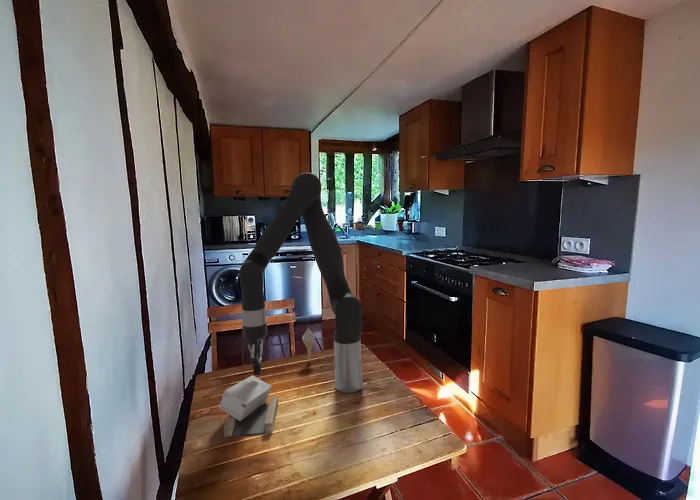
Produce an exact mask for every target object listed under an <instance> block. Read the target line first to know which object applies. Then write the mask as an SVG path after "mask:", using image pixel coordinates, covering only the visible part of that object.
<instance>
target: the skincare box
mask: <svg viewBox="0 0 700 500" xmlns="http://www.w3.org/2000/svg"><path fill="white" fill-rule="evenodd" d="M272 388H273V387H272V386H271V385H270V384H269V383H267V382H265V381H263V380H261V378H258V377H257V376H256V375H254V374H252V375H251V376H249V377H247V378H244V379H243V380H242V381H240V382H238V383H236V384H234V385H232V386H231V387H229V388H227V389H225V390H224V392H223V395H222V398H221V401H220V403H219V406H218V409H220V410H221V411H224V413H226V414H228V416H229V415H231V416H232V417H234V418H236V419H237V420H239V421H241V420H243V419H244V418H245V417H247V416H248V415H249V414H250V413H252V412H253V411H254V410H256V409H257V408H258V407H260V406H261V405H265V403H266V402H267V400H268V397H269V395H270V393H271V390H272Z"/></svg>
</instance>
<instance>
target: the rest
mask: <svg viewBox="0 0 700 500" xmlns="http://www.w3.org/2000/svg"><path fill="white" fill-rule="evenodd" d="M278 407H279V399H278V395H273V396H272V395H271V397H270V400H269V404H268V403H267V404H262V405H261V406H260V407H258V408H257V409H256V410H254V411H253V412H252V413H250V414H249V415H248V416H247V417H245V418H244V419H243V420H241V421H239V420H237V419H236V418H234V417H232V416H231V415H229V414H228V416H227V419H226V421H225V423H224V425H223V435H224V436H223V437H224V438H231V437H242V436H243V437H245V436H255V435H265V434H266V435H268V434H273V432H274V428H275V421H276V417H277V413H278Z"/></svg>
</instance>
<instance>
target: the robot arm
mask: <svg viewBox="0 0 700 500" xmlns="http://www.w3.org/2000/svg"><path fill="white" fill-rule="evenodd" d="M321 192H322V183H321V180H320V178H319V176H317V175H316V174H314V173H311V172H303V173H300V174H298V175H297V176H296V177H294V178H293V180H292V182H291V184H290V191H289V194H288V196H287V198H286V200H285V201H284V203H283V205H282V206H281V208H280V209H279V210H278V213H277V214H276V215H275V216H274V218H273V219H272V220H271V222H270V223H269V224H268V226H267V227H266V228H265V230H264V231H263V233H262V234H261V235H260V237H259V238H258V240H257V242H256V243H255V245H254V247H253V249H252V250H251V252H250V253H249V254H248V255H247V257H246V258H245V260H244V261H243V263H242V264H241V266H240V268H239V273H238V274H239V275H238V276H239V283H240V292H241V309H242V310H241V324H242V338H243V339H245V340H248V341H249V343H248V345H247V347H248V350H249V352H248V354H247V357H248V360H249V363H250V365H252V368H253V369H252V371H253V376H257V375H261V373H262V361H263V360H262V357H263V351H264V350H263V345H264V339H263V338H265V337H267V335H268V322H267V311H266V300H265V298H266V297H265V292H264V272H265V270H266V269H267V267H268V265H269V264H270V263H271V260H273V258H274V257H276V255H277V254H278V252H279V251H280V249H281V248H282V246H283V244H284V243H285V241H286V240H287V238H288V237H289V235H290V234H291V231H292V230H293V228H294V227H295V225H296V223H297V222H298V221H299V219H300V218H301V217H302V219H303V222H304V227H305V231H306V235H307V238H308V243H309V244H310V249H311V252H312V254H313V258H314V260H315V263H316V265H317V268H318V270H319V272H320V274H321V276H322V278H323V281H324V284H325V286H326V290H327V294H328V298H329V303H330V308H331V311H332V313H333V314H334V315H335V330H334V331H333V351H334V352H333V353H334V355H333V356H334V383H335V384H334V385H335V390H336V391H338V392H341V393H344V394H346V393H347V394H351V393H352V394H353V393H356V392H357V391H362V390H363V387H364V386H363V363H362V352H361V351H362V350H361V349H362V348H361V344H362V343H361V342H362V341H361V335H362V331H363V306H362V303H361V301H360V299H359V298H357V297H356V296H355V295H353V293H352V291H351V289H350V287H349V283H348V281H347V278H346V275H345V267H344V266H345V265H344V259H343V253H342V250H341V246H340V243H339V241H338V238H337V235H336V233H335V231H334V229H333V227H332V226H331V224H330V222H329V220H328V218H327V216H326V214H325V212H324V210H323V205H322V202H321V197H320V195H321Z"/></svg>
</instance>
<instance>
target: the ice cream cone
mask: <svg viewBox="0 0 700 500" xmlns="http://www.w3.org/2000/svg"><path fill="white" fill-rule="evenodd" d="M301 339H302V343H303V345H304V346H305V347H306V351H307V357H308V362H309V363H310V362H311V361H312V359H311V358H312V348H313V345H314V344H315V341H316V335H315V334H314V332H313V331H311V329H310V327H309V326H308V327H307V329H306V331H305V332H304V334H303V335H302V337H301Z"/></svg>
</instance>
